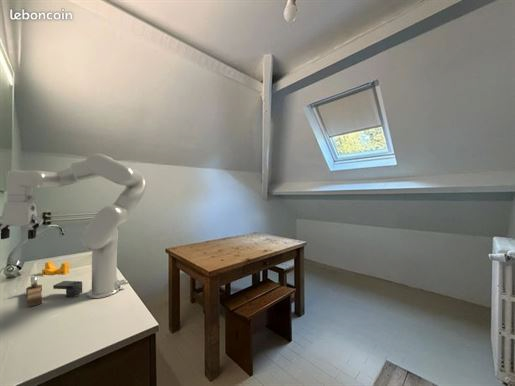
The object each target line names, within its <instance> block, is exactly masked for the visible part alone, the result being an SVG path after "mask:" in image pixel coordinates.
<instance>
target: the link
mask: <svg viewBox="0 0 515 386" xmlns="http://www.w3.org/2000/svg"><path fill="white" fill-rule="evenodd" d="M25 291H26V292H25V293H26V295H27V308H29V307H33V306H38V305H41V304H42V303H43V301H42V299H43V298H42V297H43V296H42V291H43V285H42V284H37V286H36V287H31V285H30V286H28V287H26V290H25Z"/></svg>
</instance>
